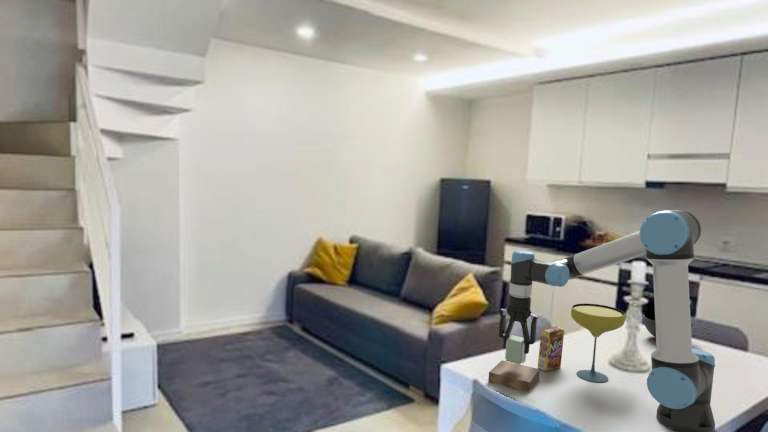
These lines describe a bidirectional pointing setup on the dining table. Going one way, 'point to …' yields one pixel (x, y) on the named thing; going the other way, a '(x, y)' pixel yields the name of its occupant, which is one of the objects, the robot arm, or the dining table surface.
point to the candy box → (550, 348)
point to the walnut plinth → (514, 376)
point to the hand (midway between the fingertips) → (515, 359)
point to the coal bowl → (652, 318)
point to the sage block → (514, 349)
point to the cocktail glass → (596, 330)
